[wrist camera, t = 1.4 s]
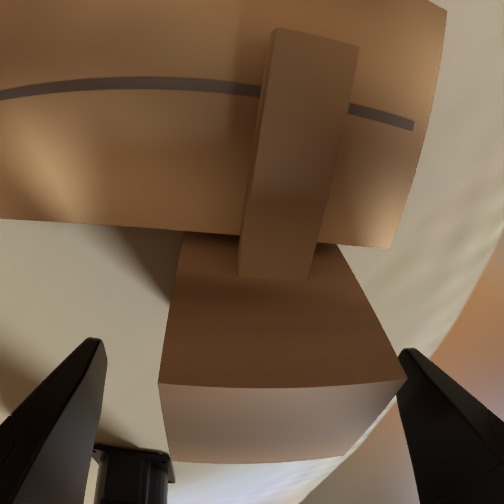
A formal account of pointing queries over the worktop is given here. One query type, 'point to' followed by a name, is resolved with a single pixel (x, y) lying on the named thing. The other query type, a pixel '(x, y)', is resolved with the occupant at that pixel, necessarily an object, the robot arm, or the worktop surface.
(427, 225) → the worktop surface
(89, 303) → the worktop surface
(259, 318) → the brown block with bar
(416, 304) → the worktop surface
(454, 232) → the worktop surface
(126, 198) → the plank
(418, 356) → the robot arm
